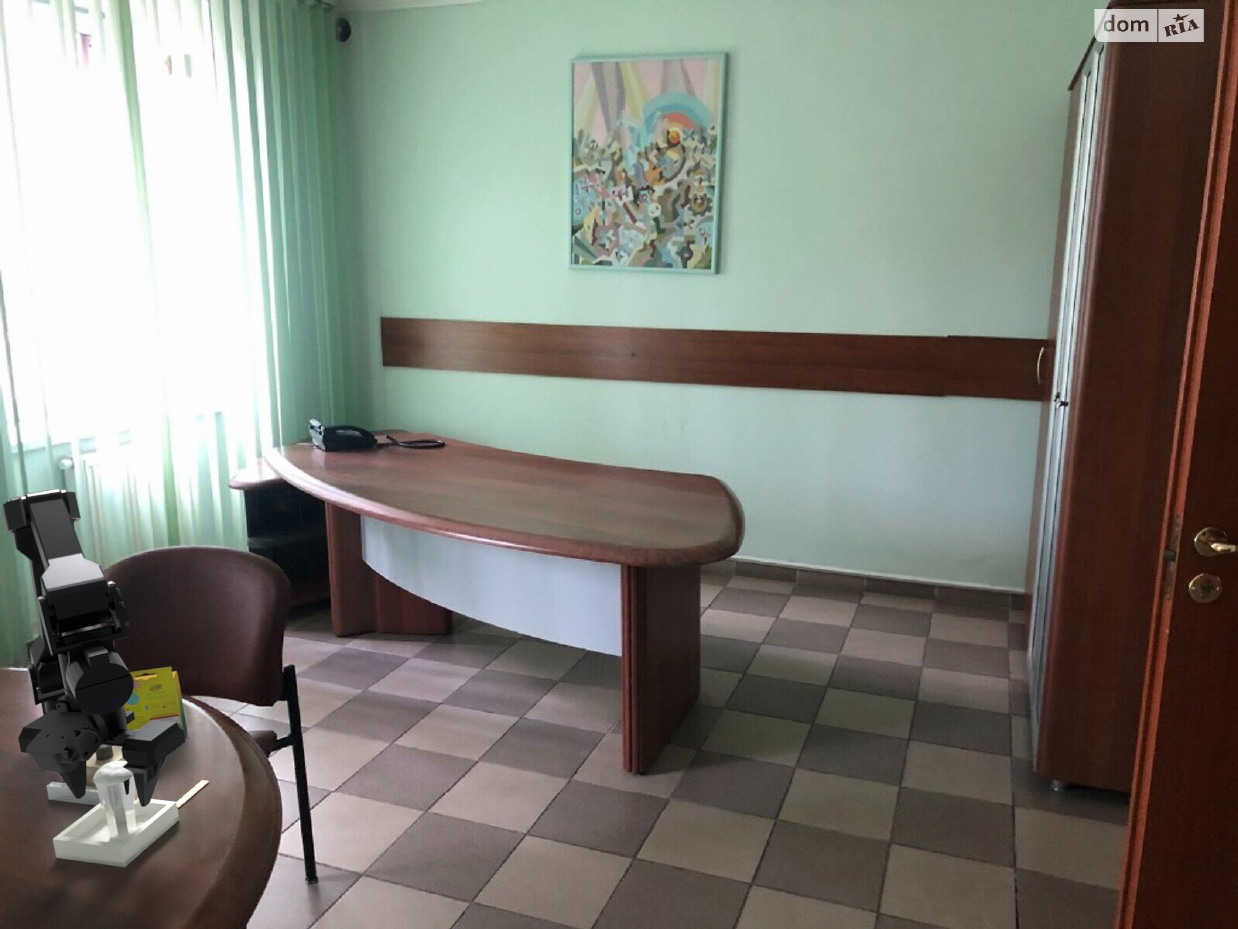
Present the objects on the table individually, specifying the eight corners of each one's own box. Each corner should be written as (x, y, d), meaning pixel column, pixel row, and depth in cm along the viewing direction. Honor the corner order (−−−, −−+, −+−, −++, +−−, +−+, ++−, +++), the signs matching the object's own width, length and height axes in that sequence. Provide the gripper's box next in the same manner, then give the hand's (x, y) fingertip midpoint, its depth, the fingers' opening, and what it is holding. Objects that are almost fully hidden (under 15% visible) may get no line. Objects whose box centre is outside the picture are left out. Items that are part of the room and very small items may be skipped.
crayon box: (188, 731, 143) (176, 658, 140) (184, 741, 140) (173, 667, 138) (133, 739, 141) (121, 665, 139) (129, 749, 139) (116, 674, 136)
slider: (79, 792, 128) (72, 754, 126) (107, 772, 132) (101, 735, 131) (111, 796, 126) (105, 758, 125) (138, 775, 131) (132, 738, 130)
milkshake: (134, 847, 115) (121, 771, 112) (95, 843, 116) (81, 768, 114) (159, 824, 119) (147, 751, 117) (121, 820, 120) (108, 748, 118)
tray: (56, 857, 114) (52, 839, 114) (114, 811, 123) (111, 794, 123) (124, 867, 112) (121, 848, 111) (179, 819, 121) (176, 802, 120)
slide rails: (49, 799, 127) (46, 786, 126) (100, 763, 135) (97, 750, 135) (171, 815, 122) (168, 800, 122) (215, 776, 131) (214, 763, 130)
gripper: (-34, 707, 107) (-8, 832, 111) (109, 722, 103) (131, 851, 107) (46, 664, 118) (67, 779, 122) (178, 676, 114) (197, 795, 117)
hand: (113, 801), depth 116 cm, fingers open, 9 cm apart
